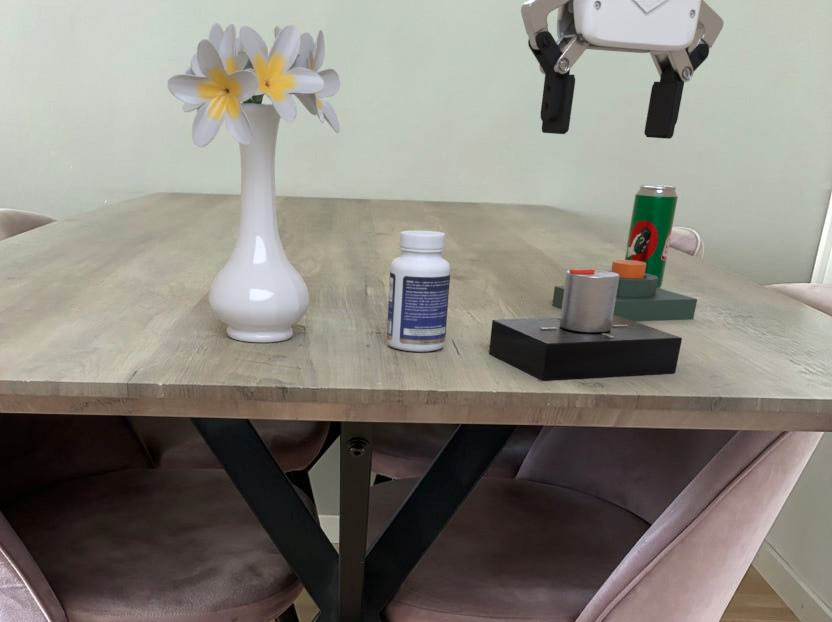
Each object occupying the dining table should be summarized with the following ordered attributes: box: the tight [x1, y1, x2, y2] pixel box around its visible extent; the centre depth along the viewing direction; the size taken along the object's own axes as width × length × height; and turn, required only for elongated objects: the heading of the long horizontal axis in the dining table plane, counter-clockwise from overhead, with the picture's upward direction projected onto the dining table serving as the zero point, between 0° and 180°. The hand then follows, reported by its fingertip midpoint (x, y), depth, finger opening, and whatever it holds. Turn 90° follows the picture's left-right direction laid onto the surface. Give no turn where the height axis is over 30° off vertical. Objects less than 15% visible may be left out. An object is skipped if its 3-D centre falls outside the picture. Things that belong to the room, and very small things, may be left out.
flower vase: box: [167, 22, 341, 344], centre depth 83 cm, size 13×18×25 cm
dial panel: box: [488, 316, 683, 382], centre depth 83 cm, size 13×10×3 cm
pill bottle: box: [386, 229, 451, 353], centre depth 86 cm, size 5×5×10 cm
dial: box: [560, 268, 619, 333], centre depth 82 cm, size 4×4×5 cm
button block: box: [551, 270, 698, 322], centre depth 106 cm, size 12×10×4 cm
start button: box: [610, 259, 646, 278], centre depth 105 cm, size 4×4×2 cm
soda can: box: [624, 184, 678, 289], centre depth 119 cm, size 5×5×12 cm
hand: (607, 135), depth 77 cm, fingers open, 9 cm apart
